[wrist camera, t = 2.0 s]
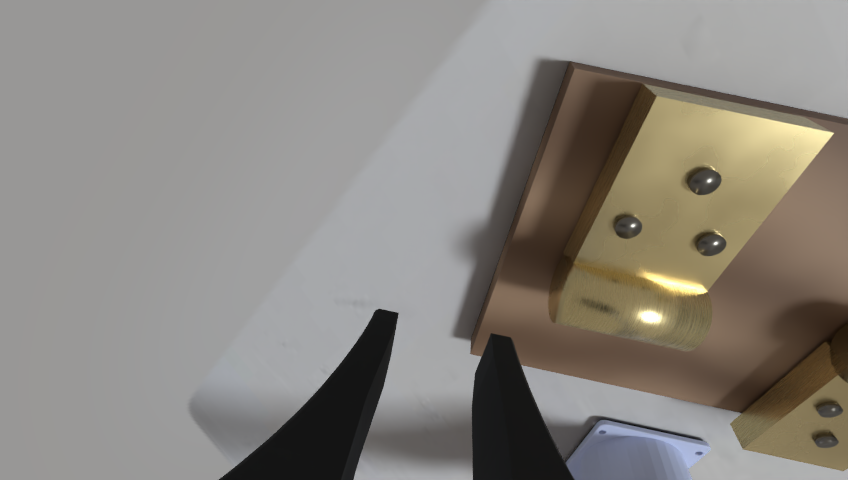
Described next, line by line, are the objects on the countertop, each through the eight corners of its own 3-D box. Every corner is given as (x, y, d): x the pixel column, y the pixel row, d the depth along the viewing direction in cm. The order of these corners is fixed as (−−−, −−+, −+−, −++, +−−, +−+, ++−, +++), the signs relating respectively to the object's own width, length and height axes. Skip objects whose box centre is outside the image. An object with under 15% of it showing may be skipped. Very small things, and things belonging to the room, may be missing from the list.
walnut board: (841, 419, 26) (854, 437, 25) (471, 339, 26) (470, 353, 25) (1177, 186, 16) (1221, 202, 15) (569, 61, 16) (574, 68, 15)
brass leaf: (658, 314, 21) (681, 365, 19) (545, 290, 21) (552, 337, 19) (804, 117, 15) (869, 152, 12) (642, 83, 15) (674, 111, 12)
